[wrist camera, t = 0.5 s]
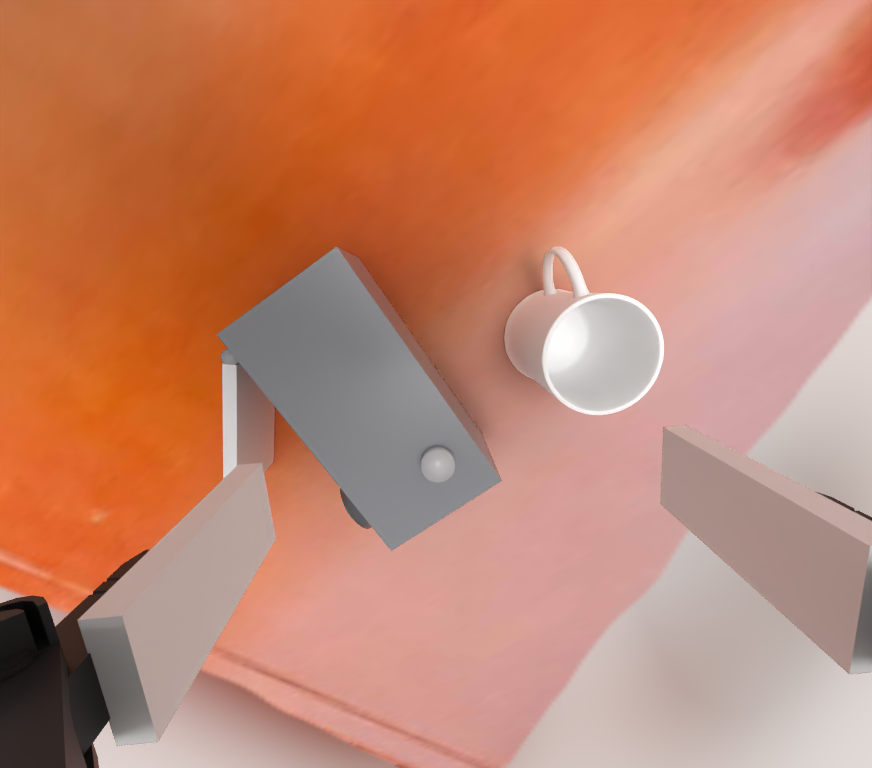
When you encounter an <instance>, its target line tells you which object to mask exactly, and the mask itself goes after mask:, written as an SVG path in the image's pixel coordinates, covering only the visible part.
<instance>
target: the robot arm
mask: <svg viewBox="0 0 872 768" xmlns="http://www.w3.org/2000/svg"><path fill="white" fill-rule="evenodd" d="M660 504H661V505H662V506H663V507H664V508H666V509H667V510H668V511H669V512H670V513H671V514H672V515H673V516H674V517H676V518H677V519H678V520H679V521H680V522H681V523H682V524H683V525H684V526H686V527H687V528H688V529H689V530H690V531H691V532H692V533H693V534H694V535H696V536H697V537H698V538H699V539H700V540H701V541H702V542H703V543H704V544H705V545H707V546H708V547H709V548H710V549H711V550H712V551H713V552H714V553H715V554H717V555H718V556H719V557H720V558H721V559H722V560H723V561H724V562H725V563H727V564H728V565H729V566H730V567H731V568H732V569H733V570H734V571H735V572H736V573H738V574H739V575H740V576H741V577H742V578H743V579H744V580H745V581H746V582H748V583H749V584H750V585H751V586H752V587H753V588H754V589H755V590H756V591H758V592H759V593H760V594H761V595H762V596H763V597H764V598H765V599H767V600H768V601H769V602H770V603H771V604H772V605H773V606H774V607H775V608H776V609H777V610H779V611H780V612H781V613H782V614H783V615H784V616H785V617H786V618H788V619H789V620H790V621H791V622H792V623H793V624H794V625H795V626H796V627H797V628H799V629H800V630H801V631H802V632H803V633H804V634H805V635H806V636H807V637H809V638H810V639H811V640H812V641H813V642H814V643H815V644H816V645H817V646H819V647H820V648H821V649H822V650H823V651H824V652H825V653H826V654H828V656H830V657H831V658H832V659H833V660H834V661H835V662H836V663H837V664H838V665H840V666H841V667H842V668H843V669H844V670H845V671H846V672H847V673H849V674H859V673H870V672H872V517H870V516H868V515H866V514H864V513H862V512H860V511H855V510H854V508H852V507H850V506H848V505H846V504H844V503H842V502H840V501H838V500H836V499H834V498H832V497H830V496H826V495H824V494H821V493H817V492H815V491H813V490H811V489H809V488H807V487H805V486H803V485H801V484H799V483H797V482H795V481H793V480H791V479H789V478H787V477H786V476H784V475H782V474H780V473H778V472H776V471H774V470H772V469H770V468H768V467H766V466H764V465H762V464H760V463H758V462H756V461H755V460H753V459H751V458H749V457H747V456H745V455H743V454H741V453H739V452H737V451H735V450H733V449H731V448H730V447H728V446H726V445H724V444H722V443H720V442H718V441H716V440H714V439H712V438H710V437H708V436H706V435H704V434H702V433H701V432H699V431H697V430H695V429H693V428H691V427H689V426H687V425H682V426H671V427H663V447H662V473H661V499H660ZM275 539H276V536H275V531H274V526H273V520H272V515H271V509H270V504H269V498H268V493H267V487H266V482H265V476H264V471H263V465H262V463H252V464H241V465H237V466H236V467H235V468H234V469H233V470H232V471H231V472H230V473H229V474H228V475H227V476H226V477H225V478H224V479H223V480H222V481H221V482H220V483H219V484H218V485H217V486H216V487H215V488H214V489H213V490H212V491H211V492H210V493H208V494H207V495H206V496H205V497H204V498H203V499H202V500H201V501H200V502H199V503H198V504H197V505H196V506H195V507H194V508H193V509H192V510H191V511H190V512H189V513H188V514H187V515H186V516H185V517H184V518H183V519H182V520H181V521H180V522H178V523H177V524H176V525H175V526H174V527H173V528H172V529H171V530H170V531H169V532H168V533H167V534H166V535H165V536H164V537H163V538H162V539H161V540H160V541H159V542H158V543H157V544H156V545H155V546H154V547H153V548H152V549H150V550H145V551H143V552H142V553H140V554H138V555H137V556H135V557H133V558H132V559H130V560H129V561H127V562H125V563H124V564H123V565H121V566H120V567H119V568H118V569H117V570H116V571H115V572H114V573H113V574H112V575H111V576H110V577H109V578H107V582H103V583H102V584H101V585H100V586H99V587H98V588H97V589H96V590H94V591H93V595H89V596H88V597H87V598H86V599H85V600H84V601H83V602H81V603H80V604H79V605H78V606H77V607H76V608H75V609H74V610H73V611H72V612H71V613H70V614H69V615H67V616H66V617H65V618H64V619H63V620H62V621H61V622H60V623H59V624H58V625H57V626H56V627H55V625H54V623H53V619H52V616H51V613H50V610H49V607H48V604H47V602H46V600H45V599H44V597H39V596H27V597H21V598H16V599H13V600H9V601H6V602H3V603H0V768H99V765H98V757H97V754H96V751H95V748H94V745H93V742H94V740H95V739H96V737H97V736H98V735H99V733H100V732H101V731H102V729H103V728H104V726H105V725H106V724H107V722H108V721H109V723H110V726H111V729H112V733H113V736H114V739H115V742H116V746H123V745H133V744H142V743H143V744H144V743H154V742H158V741H159V740H160V738H161V736H162V734H163V733H164V731H165V729H166V728H167V726H168V724H169V722H170V721H171V719H172V717H173V715H174V714H175V712H176V710H177V709H178V707H179V705H180V703H181V702H182V700H183V698H184V696H185V695H186V693H187V691H188V690H189V688H190V686H191V684H192V683H193V681H194V679H195V677H196V676H197V674H198V672H199V671H200V669H201V667H202V665H203V664H204V662H205V660H206V659H207V657H208V655H209V653H210V652H211V650H212V648H213V646H214V645H215V643H216V641H217V640H218V638H219V636H220V634H221V633H222V631H223V629H224V627H225V626H226V624H227V622H228V621H229V619H230V617H231V615H232V614H233V612H234V610H235V608H236V607H237V605H238V603H239V602H240V600H241V598H242V596H243V595H244V593H245V591H246V590H247V588H248V586H249V584H250V583H251V581H252V579H253V577H254V576H255V574H256V572H257V571H258V569H259V567H260V565H261V564H262V562H263V560H264V558H265V557H266V555H267V553H268V552H269V550H270V548H271V546H272V545H273V543H274V541H275Z"/></svg>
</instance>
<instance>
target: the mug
mask: <svg viewBox="0 0 872 768" xmlns="http://www.w3.org/2000/svg"><path fill="white" fill-rule="evenodd" d="M555 255H556V256H557V257H558V258H559V259H560V261H561V262H562V264H563V265H564V267H565V269H566V271H567V274H568V276H569V279H570V281H571V285H572V288H573V292H569V291H566V290H562V289H555V287H554V282H553V260H554V256H555ZM542 277H543V287H544V290H540V291H537V292H535V293H533V294H531V295H529V296H527V297H526V298H524V299H523V300H522V301H521V302H520V303H519V304H518V305H517V306H516V307H515V308H514V310H513V311H512V313H511V314H510V316H509V318H508V321H507V324H506V327H505V333H504V343H505V349H506V352H507V355H508V357H509V359H510V361H511V363H512V364H513V365H514V367H515V368H516V369H517V370H518V371H519V372H521V373H522V374H523V375H525V376H527V377H529V378H531V379H533V380H535V381H536V382H537V383H538V384H540V385H541V386H542V387H543V388H544V389H546V390H547V391H548V392H549V393H551V394H552V395H553V396H554V397H555V398H557V399H558V400H559V401H560V402H562V403H563V404H564V405H566V406H567V407H569V408H571V409H573V410H575V411H578V412H581V413H584V414H590V415H605V414H611V413H615V412H618V411H621V410H623V409H625V408H627V407H629V406H631V405H633V404H634V403H635V402H637V401H638V400H639V399H641V398H642V397H643V396H644V395H645V394H646V393H647V392H648V390H649V389H650V388H651V386H652V385H653V384H654V382H655V380H656V378H657V376H658V374H659V372H660V369H661V366H662V362H663V356H664V341H663V336H662V332H661V329H660V326H659V324H658V322H657V320H656V319H655V317H654V316H653V314H652V313H651V312H650V311H649V310H648V309H647V308H646V307H645V306H644V305H643V304H641V303H640V302H638V301H637V300H635V299H633V298H630V297H628V296H625V295H621V294H614V293H590V292H589V291H588V289H587V287H586V284H585V281H584V278H583V276H582V273H581V271H580V269H579V266H578V265H577V263H576V261H575V259H574V258H573V256H572V255H571V254H570V252H569V251H568V250H566V249H565V248H563V247H560V246H556V247H552V248H550V249H549V250H548V251H547V252H546V253H545V256H544V259H543V266H542Z"/></svg>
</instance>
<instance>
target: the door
mask: <svg viewBox="0 0 872 768" xmlns="http://www.w3.org/2000/svg"><path fill="white" fill-rule="evenodd" d="M221 360H222V362H223V364H222V390H223V479H224V478H225V477H226V476H227V475H228V474H229V473H230V472H231V471H232V470H233V469H234V468H235V467H236V466H237V465H241V464H252V463H262V465H263V471H264V473H265V471H266V470H267V469H268V468H269V467H270V466H271V464H272V463H273V462H274V424H275V406H274V405H273V404H272V403H271V401H270V400H269V399H268V398H267V396H266V395H265V394H264V393H263V392H262V390H261V389H260V388H259V387H258V385H257V384H256V383H255V382H254V380H253V379H252V378H251V377H250V375H249V374H248V373H247V372H246V371H245V369H244V368H243V367H242V366H241V364H240V363H239V362H238V361H237V359H236V358H235V357H234V356H233V354H232V353H231V352H230V351H229V350H228V349H226V350H224V351H223V352H222V354H221Z"/></svg>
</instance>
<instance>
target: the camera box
mask: <svg viewBox="0 0 872 768" xmlns="http://www.w3.org/2000/svg"><path fill="white" fill-rule="evenodd" d="M216 335H217V336H218V337H219V338H220V340H221V341H222V342H223V343H224V345H225V346H226V347H227V348H228V350H229V351H230V352H231V353H232V354H233V356H234V357H235V358H236V359H237V361H238V362H239V363H240V364H241V366H242V367H243V368H244V369H245V371H246V372H247V373H248V374H249V375H250V377H251V378H252V379H253V380H254V382H255V383H256V384H257V385H258V387H259V388H260V389H261V390H262V392H263V393H264V394H265V395H266V396H267V398H268V399H269V400H270V401H271V403H272V404H273V405H274V406H275V408H276V409H277V410H278V411H279V413H280V414H281V415H282V416H283V418H284V419H285V420H286V421H287V422H288V424H289V425H290V426H291V427H292V429H293V430H294V431H295V432H296V434H297V435H298V436H299V437H300V439H301V440H302V441H303V442H304V443H305V445H306V446H307V447H308V448H309V450H310V451H311V452H312V453H313V455H314V456H315V457H316V458H317V460H318V461H319V462H320V463H321V464H322V466H323V467H324V468H325V469H326V471H327V472H328V473H329V474H330V476H331V477H332V478H333V479H334V481H335V482H336V483H337V484H338V486H339V487H340V493H341V497H342V500H343V503H344V506H345V508H346V510H347V512H348V513H349V515H350V516H351V517H352V518H353V519H354V520H355V522H356V523H357V524H359V525H360V526H361V527H363V528H366V529H369V528H371V527H372V528H373V529H374V530H375V531H376V532H377V534H378V535H379V536H380V537H381V539H382V540H383V541H384V542H385V544H386V545H387V546H388V547H389V549H390V550H391V551H392V550H394V549H395V548H397V547H398V546H400V545H401V544H403V543H405V542H406V541H408V540H409V539H411V538H412V537H414V536H416V535H417V534H419V533H420V532H422V531H423V530H425V529H427V528H428V527H430V526H431V525H433V524H434V523H436V522H438V521H439V520H441V519H442V518H444V517H445V516H447V515H449V514H450V513H452V512H453V511H455V510H456V509H458V508H459V507H461V506H463V505H464V504H466V503H467V502H469V501H470V500H472V499H474V498H475V497H477V496H478V495H480V494H481V493H483V492H485V491H486V490H488V489H489V488H491V487H492V486H494V485H496V484H497V483H499V482H500V481H502V480H501V478H500V476H499V473H498V471H497V468H496V466H495V464H494V461H493V459H492V456H491V454H490V452H489V449H488V447H487V444H486V442H485V440H484V437H483V435H482V434H481V432H480V431H479V429H478V428H477V426H476V425H475V424H474V422H473V421H472V419H471V418H470V416H469V415H468V414H467V412H466V411H465V409H464V408H463V406H462V405H461V403H460V402H459V401H458V399H457V398H456V396H455V395H454V393H453V392H452V391H451V389H450V388H449V386H448V385H447V383H446V382H445V381H444V379H443V378H442V376H441V375H440V373H439V372H438V371H437V369H436V368H435V366H434V365H433V363H432V362H431V361H430V359H429V358H428V356H427V355H426V353H425V352H424V350H423V349H422V348H421V346H420V345H419V343H418V342H417V340H416V339H415V338H414V336H413V335H412V333H411V332H410V330H409V329H408V328H407V326H406V325H405V323H404V322H403V320H402V319H401V318H400V316H399V315H398V313H397V312H396V310H395V309H394V308H393V306H392V305H391V303H390V302H389V300H388V299H387V297H386V296H385V295H384V293H383V292H382V290H381V289H380V287H379V286H378V285H377V283H376V282H375V280H374V279H373V277H372V276H371V275H370V273H369V272H368V270H367V269H366V267H365V266H364V265H363V263H362V262H361V260H360V259H359V257H357V256H355V255H353V254H351V253H349V252H346V251H344V250H342V249H340V248H338V247H335V248H334V249H332V250H331V251H330V252H328V253H327V254H326V255H324V256H323V257H322V258H320V259H319V260H317V261H316V262H315V263H313V264H312V265H311V266H309V267H308V268H307V269H305V270H304V271H302V272H301V273H300V274H298V275H297V276H296V277H294V278H293V279H292V280H290V281H289V282H287V283H286V284H285V285H283V286H282V287H281V288H279V289H278V290H277V291H275V292H274V293H272V294H271V295H270V296H268V297H267V298H266V299H264V300H263V301H261V302H260V303H259V304H257V305H256V306H255V307H253V308H252V309H251V310H249V311H248V312H246V313H245V314H244V315H242V316H241V317H240V318H238V319H237V320H236V321H234V322H233V323H231V324H230V325H229V326H227V327H226V328H225V329H223V330H222V331H221V332H219V333H218V334H216Z"/></svg>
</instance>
